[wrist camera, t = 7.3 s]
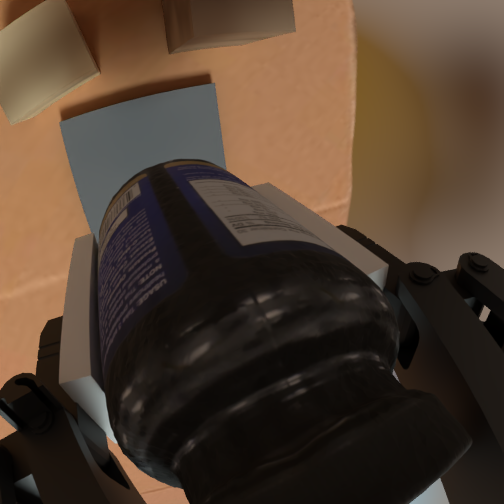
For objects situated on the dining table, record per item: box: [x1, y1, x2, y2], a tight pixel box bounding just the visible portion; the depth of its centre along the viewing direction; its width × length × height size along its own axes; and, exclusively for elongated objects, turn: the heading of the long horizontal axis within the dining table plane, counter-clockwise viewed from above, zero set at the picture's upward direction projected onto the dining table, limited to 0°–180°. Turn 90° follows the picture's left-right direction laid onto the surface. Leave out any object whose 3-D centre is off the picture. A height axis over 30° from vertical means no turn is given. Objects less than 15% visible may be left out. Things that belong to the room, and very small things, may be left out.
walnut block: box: [162, 0, 296, 54], centre depth 13 cm, size 5×5×7 cm
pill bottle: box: [98, 159, 473, 504], centre depth 7 cm, size 6×6×11 cm
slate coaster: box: [59, 83, 226, 246], centre depth 20 cm, size 10×10×1 cm
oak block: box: [0, 0, 101, 125], centre depth 12 cm, size 5×5×5 cm
